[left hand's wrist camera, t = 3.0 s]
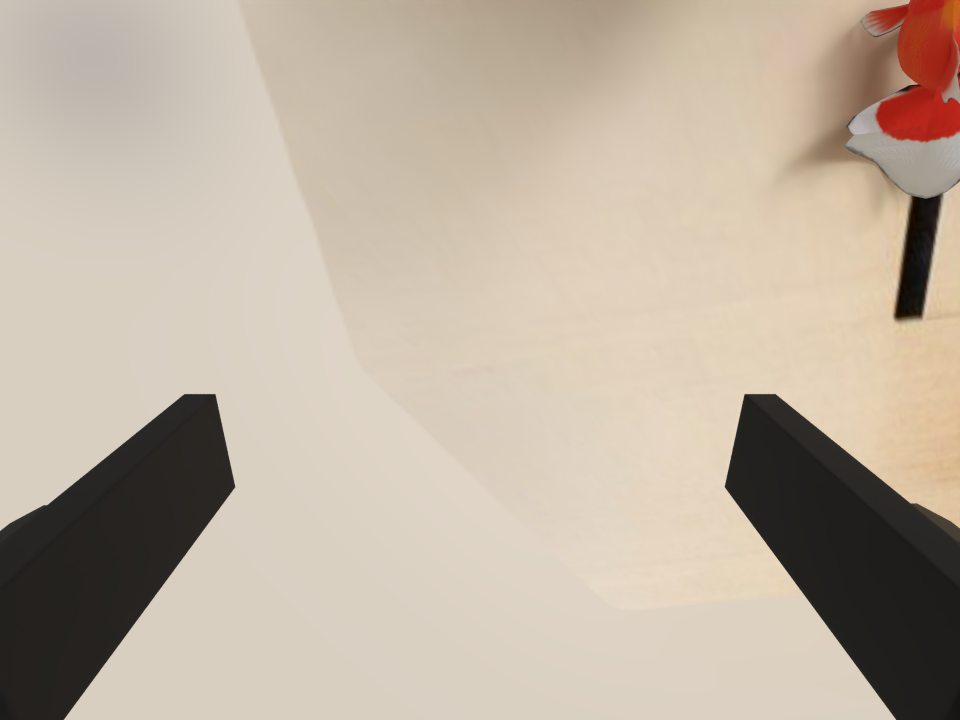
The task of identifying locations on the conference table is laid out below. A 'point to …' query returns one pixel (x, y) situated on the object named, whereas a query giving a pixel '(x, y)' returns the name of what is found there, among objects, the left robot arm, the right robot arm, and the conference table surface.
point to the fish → (917, 100)
